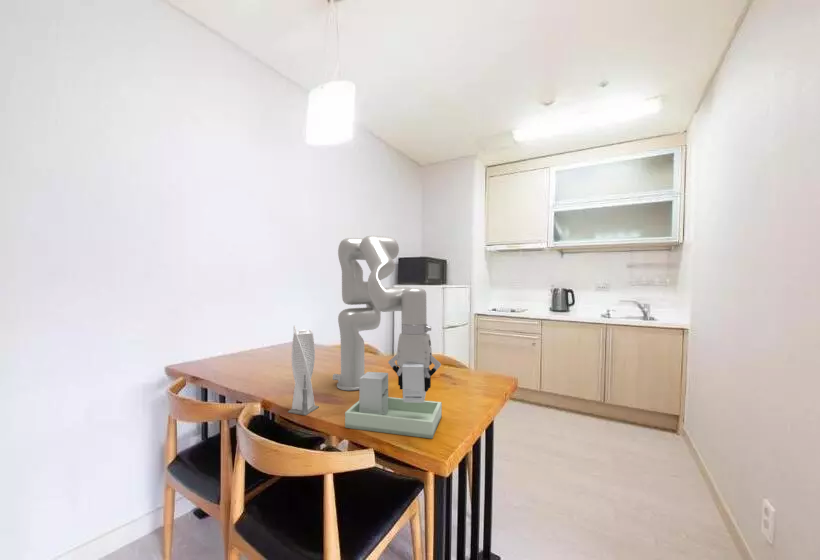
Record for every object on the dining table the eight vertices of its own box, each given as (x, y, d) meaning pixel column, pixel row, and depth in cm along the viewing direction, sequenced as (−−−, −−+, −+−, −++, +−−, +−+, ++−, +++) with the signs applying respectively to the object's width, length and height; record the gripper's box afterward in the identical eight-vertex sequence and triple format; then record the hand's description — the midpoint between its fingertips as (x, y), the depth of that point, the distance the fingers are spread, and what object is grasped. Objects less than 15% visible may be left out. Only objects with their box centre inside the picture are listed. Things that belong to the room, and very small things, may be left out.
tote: (345, 427, 96) (345, 412, 96) (365, 408, 110) (365, 394, 110) (432, 438, 89) (432, 422, 89) (441, 416, 103) (441, 402, 103)
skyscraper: (284, 411, 107) (284, 326, 107) (300, 403, 115) (300, 323, 115) (305, 415, 104) (305, 327, 104) (320, 406, 112) (320, 324, 112)
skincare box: (405, 390, 103) (405, 357, 103) (426, 391, 103) (426, 357, 103) (401, 402, 93) (401, 365, 93) (424, 403, 92) (424, 366, 92)
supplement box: (382, 421, 97) (381, 379, 97) (358, 419, 99) (358, 377, 99) (388, 411, 105) (388, 372, 105) (367, 409, 106) (366, 371, 106)
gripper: (444, 328, 99) (445, 387, 99) (390, 327, 104) (390, 383, 104) (440, 332, 92) (440, 395, 92) (382, 330, 96) (382, 390, 96)
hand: (414, 388), depth 98 cm, fingers closed on skincare box, 7 cm apart
